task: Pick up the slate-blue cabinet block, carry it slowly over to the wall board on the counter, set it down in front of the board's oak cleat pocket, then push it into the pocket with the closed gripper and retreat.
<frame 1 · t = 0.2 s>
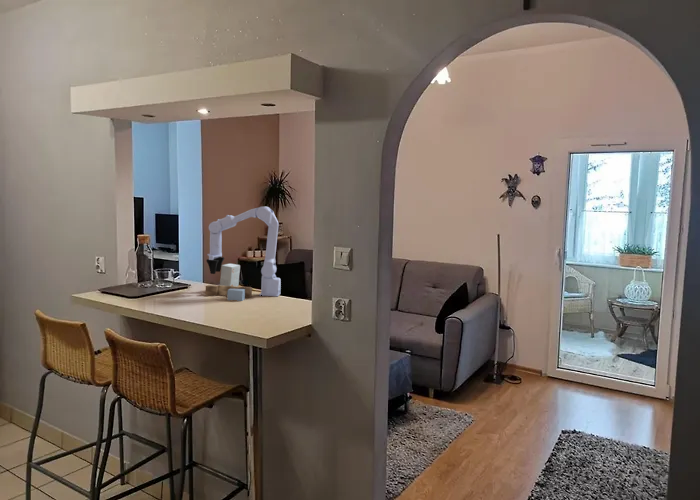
hand: (215, 272, 269), 10 cm above the table, tool pointing down, fingers open, 7 cm apart
small box: (228, 290, 276), on the table
cabinet block: (236, 300, 254), on the table
wall board: (228, 295, 263), on the table
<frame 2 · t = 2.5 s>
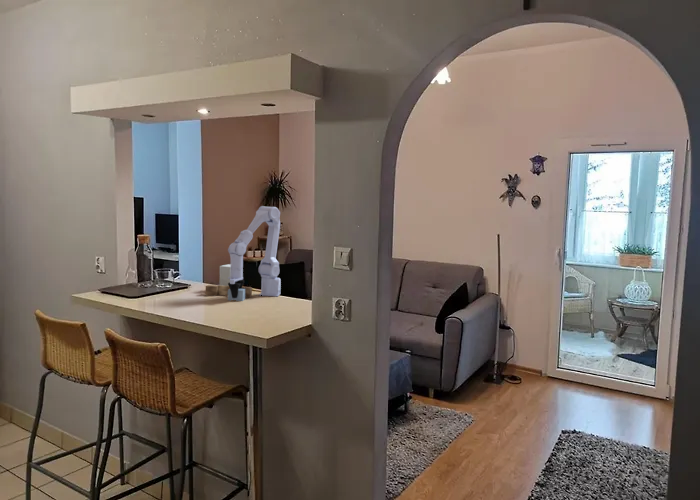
hand: (236, 296, 254), 1 cm above the table, tool pointing down, fingers closed on cabinet block, 4 cm apart
cabinet block: (236, 299, 254), on the table, touching gripper
when the fingers open (2 cm above the table, at t = 7.2 s): cabinet block stays where it is, on the table.
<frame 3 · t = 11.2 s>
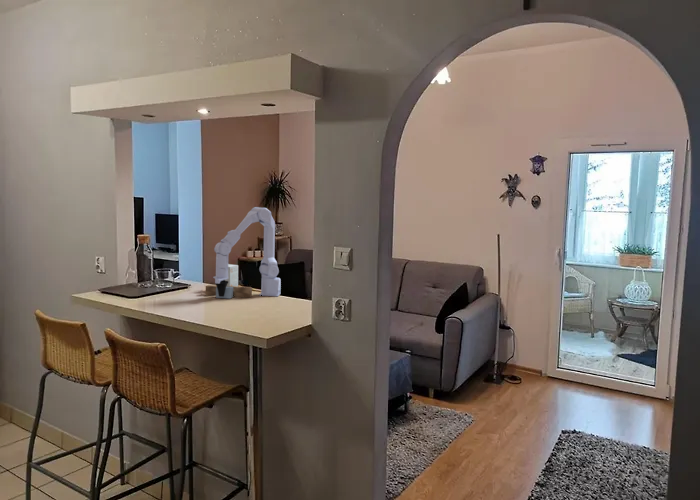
hand: (221, 296, 254), 1 cm above the table, tool pointing down, fingers closed
cabinet block: (224, 297, 258), on the table, touching gripper
everything else where it was.
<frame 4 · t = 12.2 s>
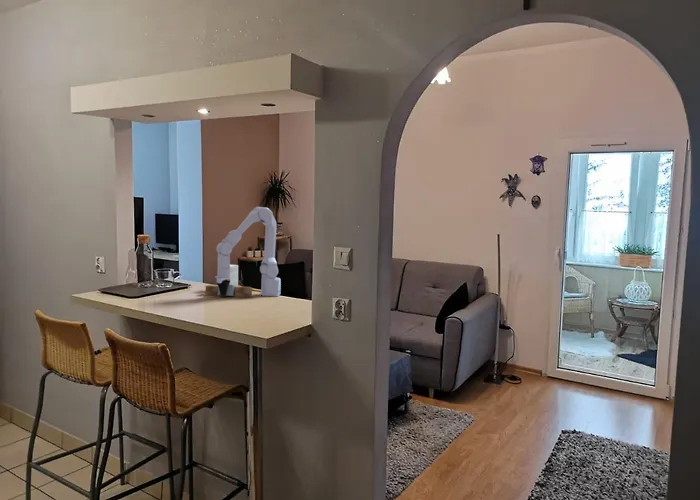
hand: (223, 295, 257), 1 cm above the table, tool pointing down, fingers closed
cabinet block: (225, 295, 260), point 1 cm above the table, tilted 16°, touching gripper
everything else where it was.
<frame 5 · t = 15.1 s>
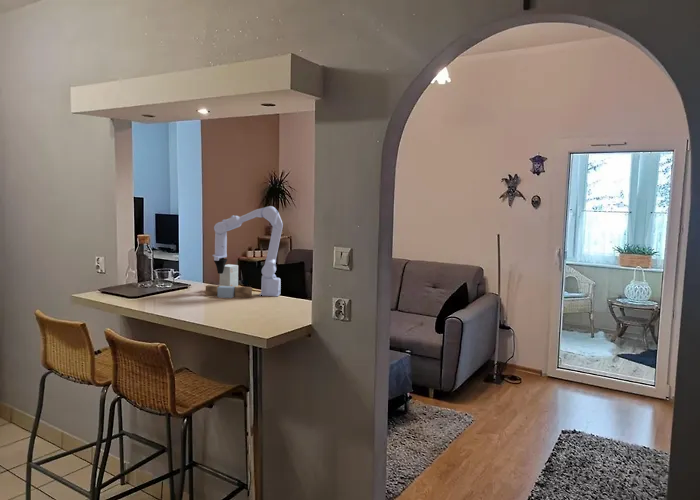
hand: (220, 273, 268), 10 cm above the table, tool pointing down, fingers closed
cabinet block: (226, 297, 260), on the table
everything else where it was.
at the end: cabinet block 1.5 cm from the target spot, on the table; cabinet block tilted 0°; the gripper is holding nothing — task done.
